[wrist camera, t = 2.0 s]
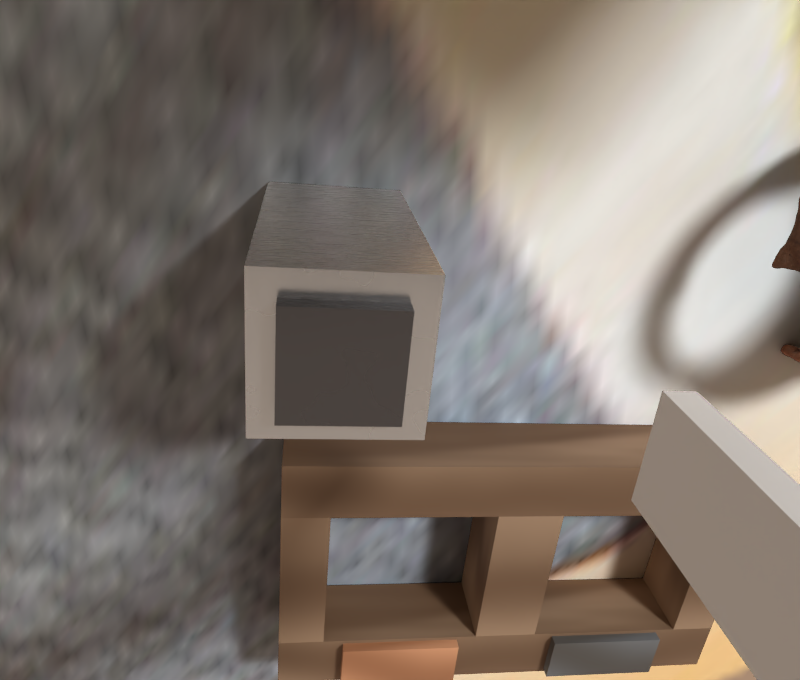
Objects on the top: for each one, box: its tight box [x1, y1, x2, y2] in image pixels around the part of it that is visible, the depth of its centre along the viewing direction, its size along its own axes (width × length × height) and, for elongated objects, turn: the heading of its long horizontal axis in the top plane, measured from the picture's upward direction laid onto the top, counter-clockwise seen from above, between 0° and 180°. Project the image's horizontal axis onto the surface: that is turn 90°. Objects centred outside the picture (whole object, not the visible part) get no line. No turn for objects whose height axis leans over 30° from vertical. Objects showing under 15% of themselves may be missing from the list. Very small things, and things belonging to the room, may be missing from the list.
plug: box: [244, 182, 445, 440], centre depth 19 cm, size 4×4×9 cm
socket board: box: [278, 422, 714, 680], centre depth 28 cm, size 11×19×3 cm, turn 85°
